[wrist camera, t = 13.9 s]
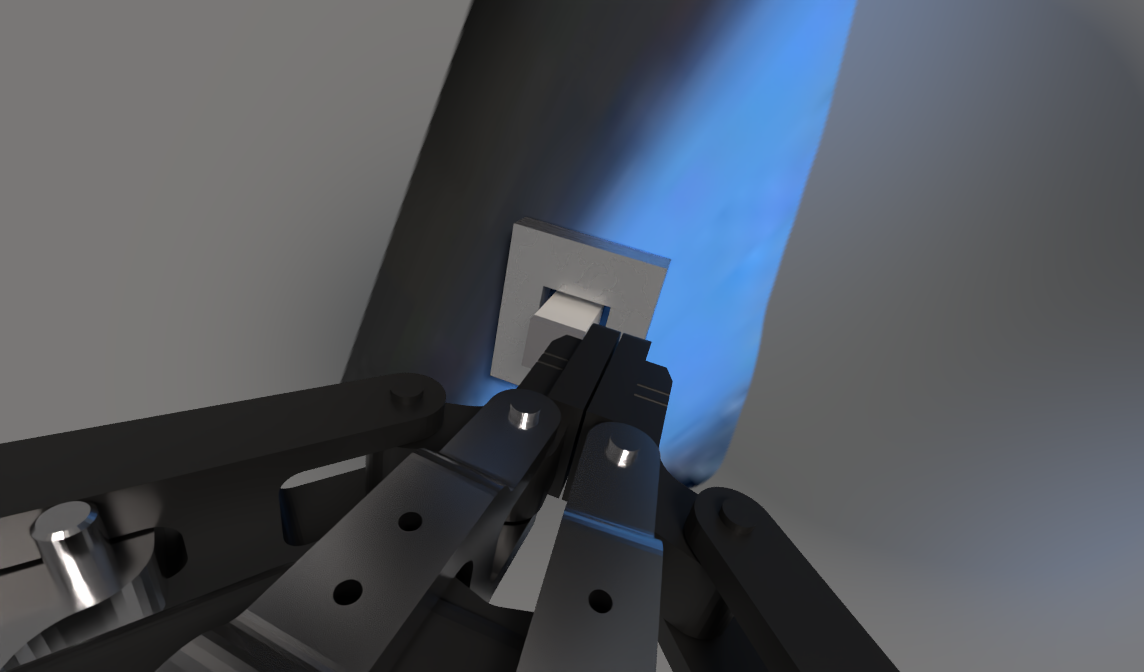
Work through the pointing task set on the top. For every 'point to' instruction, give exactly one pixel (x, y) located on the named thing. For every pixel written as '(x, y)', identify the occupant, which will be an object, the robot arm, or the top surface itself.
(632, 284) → the socket
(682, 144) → the top surface
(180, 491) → the robot arm
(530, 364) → the plug
